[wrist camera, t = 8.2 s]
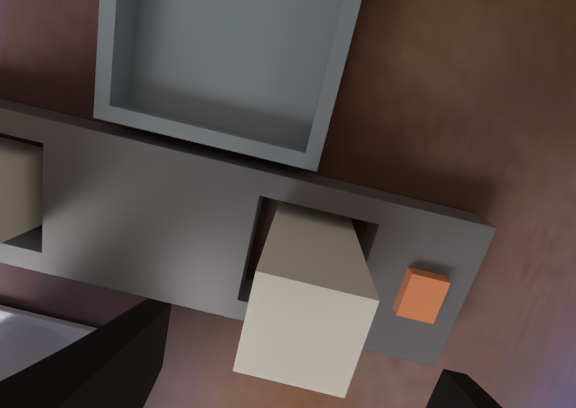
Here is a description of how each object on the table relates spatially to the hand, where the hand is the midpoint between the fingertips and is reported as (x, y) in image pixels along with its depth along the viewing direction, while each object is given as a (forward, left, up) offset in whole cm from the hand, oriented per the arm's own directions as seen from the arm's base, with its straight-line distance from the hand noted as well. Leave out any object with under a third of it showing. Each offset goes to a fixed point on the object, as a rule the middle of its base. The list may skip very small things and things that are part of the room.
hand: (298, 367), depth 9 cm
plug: (0, 0, -8) cm, 8 cm away
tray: (+9, +5, -8) cm, 13 cm away
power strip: (0, +5, -8) cm, 9 cm away
